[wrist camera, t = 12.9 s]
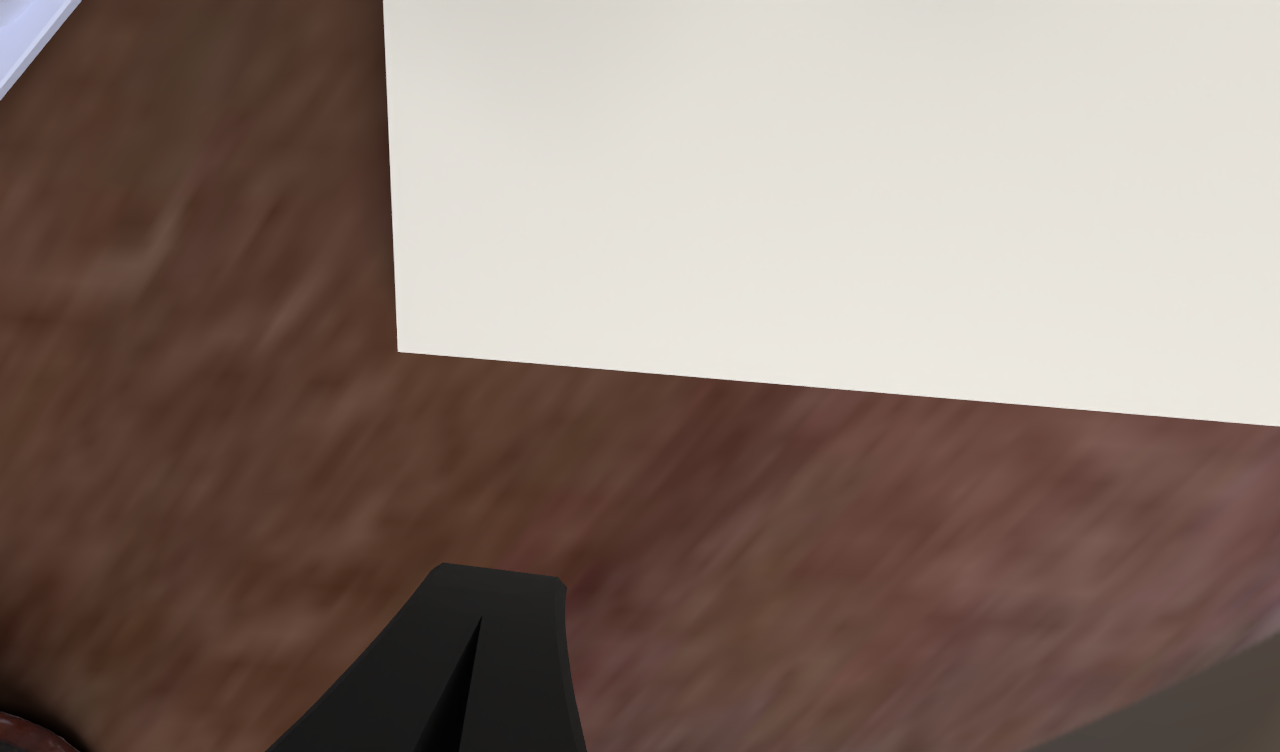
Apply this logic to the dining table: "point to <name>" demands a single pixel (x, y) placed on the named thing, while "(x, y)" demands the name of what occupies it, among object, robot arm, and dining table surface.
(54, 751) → the supplement bottle
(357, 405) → the dining table surface
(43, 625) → the dining table surface
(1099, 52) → the plate
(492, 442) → the dining table surface
